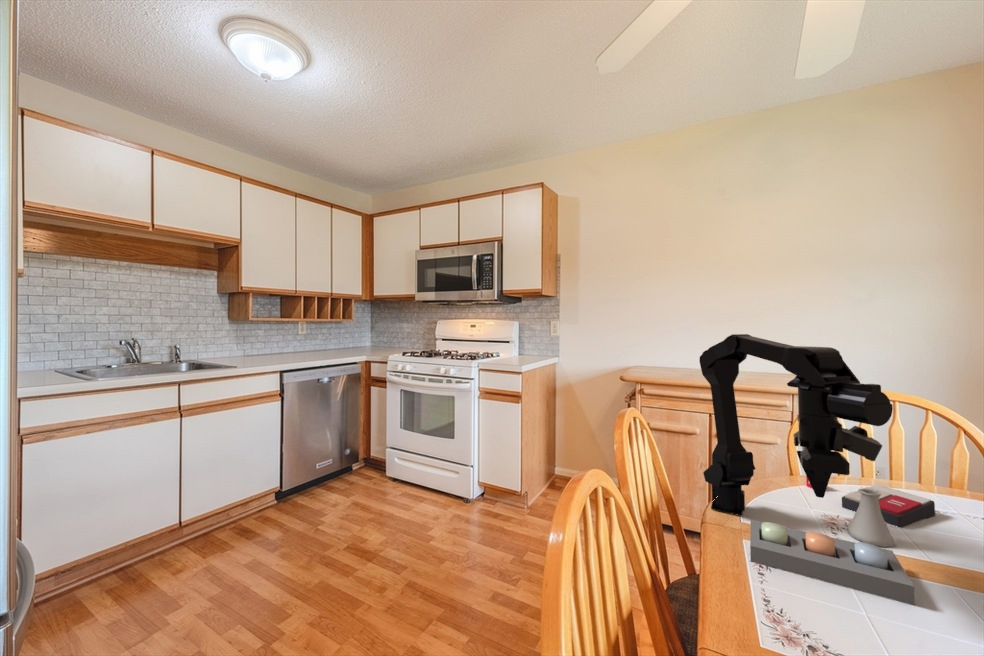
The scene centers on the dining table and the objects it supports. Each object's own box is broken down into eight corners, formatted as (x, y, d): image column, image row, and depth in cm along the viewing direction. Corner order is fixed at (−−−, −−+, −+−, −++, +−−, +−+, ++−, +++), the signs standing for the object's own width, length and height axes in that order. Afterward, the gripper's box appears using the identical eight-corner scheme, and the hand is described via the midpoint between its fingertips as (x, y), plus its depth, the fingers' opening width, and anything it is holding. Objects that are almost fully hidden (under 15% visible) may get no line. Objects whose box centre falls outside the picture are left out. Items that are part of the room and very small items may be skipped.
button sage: (762, 545, 77) (761, 529, 77) (761, 535, 80) (761, 520, 80) (788, 551, 74) (788, 535, 74) (787, 541, 78) (786, 525, 78)
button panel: (750, 561, 75) (750, 545, 75) (750, 533, 84) (750, 519, 84) (914, 605, 62) (914, 586, 62) (892, 566, 72) (892, 550, 72)
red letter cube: (816, 490, 106) (816, 479, 106) (806, 486, 109) (806, 475, 109) (826, 490, 106) (826, 479, 106) (816, 485, 109) (816, 475, 109)
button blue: (857, 568, 69) (857, 550, 69) (852, 557, 72) (852, 540, 72) (890, 576, 66) (890, 558, 66) (884, 564, 70) (883, 546, 70)
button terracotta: (807, 556, 73) (806, 539, 73) (804, 545, 76) (804, 529, 76) (836, 563, 70) (836, 546, 70) (832, 552, 74) (832, 535, 74)
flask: (905, 549, 78) (904, 500, 78) (863, 546, 79) (862, 497, 79) (877, 531, 85) (876, 485, 85) (838, 528, 86) (838, 483, 86)
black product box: (840, 493, 96) (875, 481, 101) (841, 511, 96) (876, 497, 101) (899, 513, 86) (935, 498, 91) (900, 532, 86) (936, 516, 91)
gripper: (891, 429, 61) (893, 528, 61) (863, 408, 77) (865, 487, 77) (801, 421, 67) (803, 511, 67) (792, 403, 83) (794, 476, 83)
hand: (819, 495), depth 73 cm, fingers closed
